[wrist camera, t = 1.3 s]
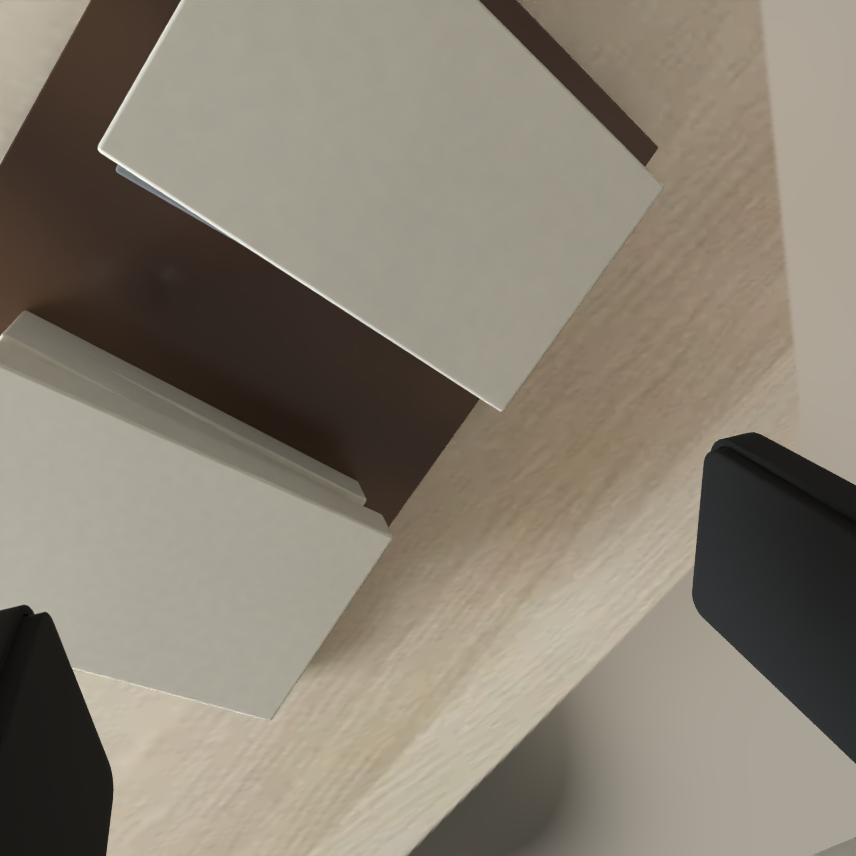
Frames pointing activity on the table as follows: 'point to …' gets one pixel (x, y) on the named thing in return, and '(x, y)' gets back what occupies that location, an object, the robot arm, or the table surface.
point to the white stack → (168, 528)
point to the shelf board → (220, 274)
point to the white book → (391, 168)
